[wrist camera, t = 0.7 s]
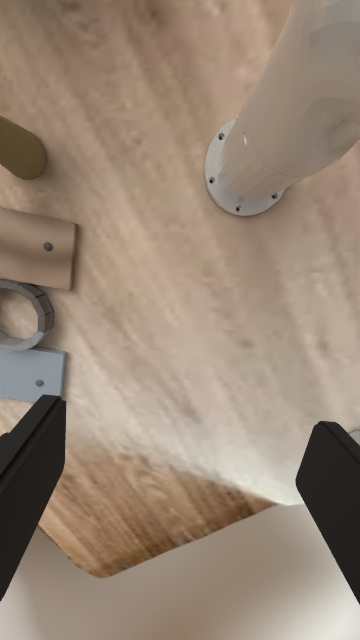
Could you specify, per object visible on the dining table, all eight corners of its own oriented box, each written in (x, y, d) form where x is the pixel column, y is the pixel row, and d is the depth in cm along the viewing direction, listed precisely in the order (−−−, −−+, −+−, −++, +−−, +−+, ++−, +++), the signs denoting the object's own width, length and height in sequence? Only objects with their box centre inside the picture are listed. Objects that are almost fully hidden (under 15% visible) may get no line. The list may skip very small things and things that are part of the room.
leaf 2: (-34, 310, 40) (-50, 314, 37) (68, 327, 41) (61, 333, 39) (-32, 388, 44) (-46, 398, 41) (61, 401, 45) (54, 412, 42)
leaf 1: (-37, 199, 35) (-55, 195, 33) (77, 224, 37) (70, 222, 34) (-34, 311, 40) (-50, 316, 37) (68, 329, 42) (60, 335, 39)
